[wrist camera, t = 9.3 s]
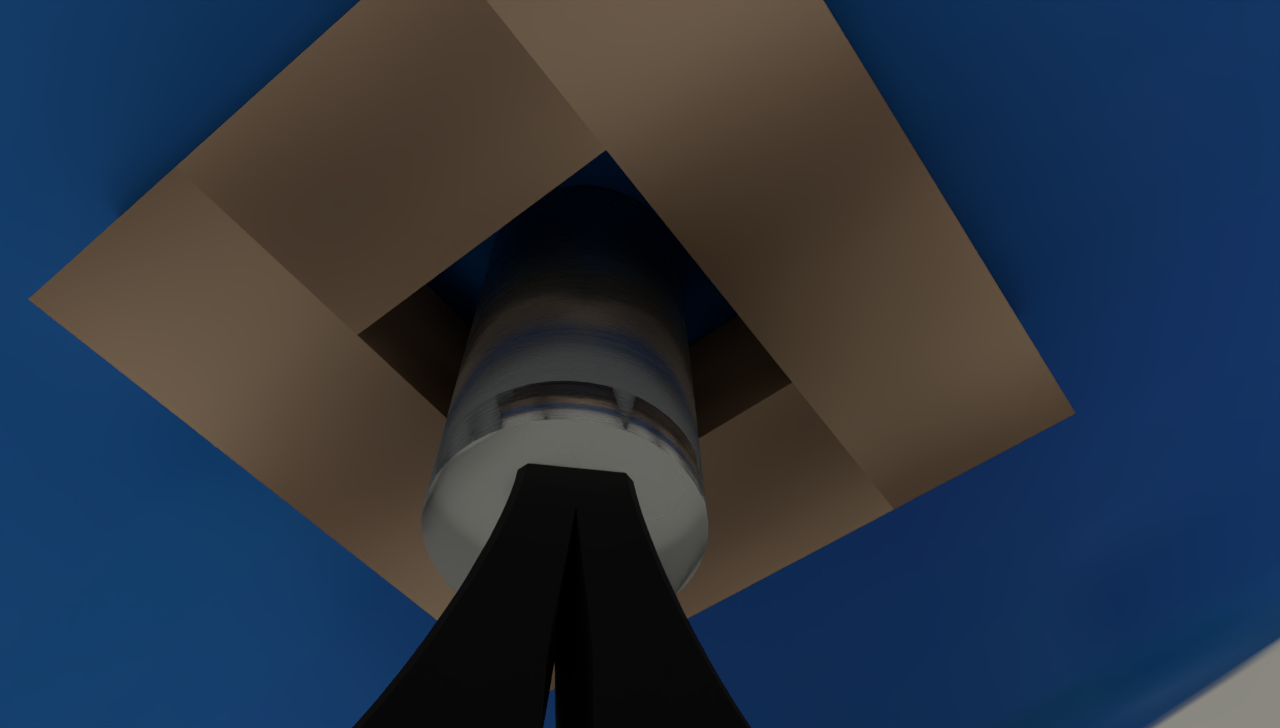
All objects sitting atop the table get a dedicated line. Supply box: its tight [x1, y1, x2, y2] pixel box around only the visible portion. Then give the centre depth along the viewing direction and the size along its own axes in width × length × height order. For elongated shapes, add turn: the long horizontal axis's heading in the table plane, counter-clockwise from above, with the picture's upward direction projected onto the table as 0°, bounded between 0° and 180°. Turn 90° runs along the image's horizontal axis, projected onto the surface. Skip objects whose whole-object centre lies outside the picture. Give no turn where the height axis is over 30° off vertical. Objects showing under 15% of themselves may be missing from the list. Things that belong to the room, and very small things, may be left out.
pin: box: [422, 187, 708, 594], centre depth 15 cm, size 4×4×7 cm
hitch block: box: [29, 0, 1076, 691], centre depth 16 cm, size 12×12×3 cm
